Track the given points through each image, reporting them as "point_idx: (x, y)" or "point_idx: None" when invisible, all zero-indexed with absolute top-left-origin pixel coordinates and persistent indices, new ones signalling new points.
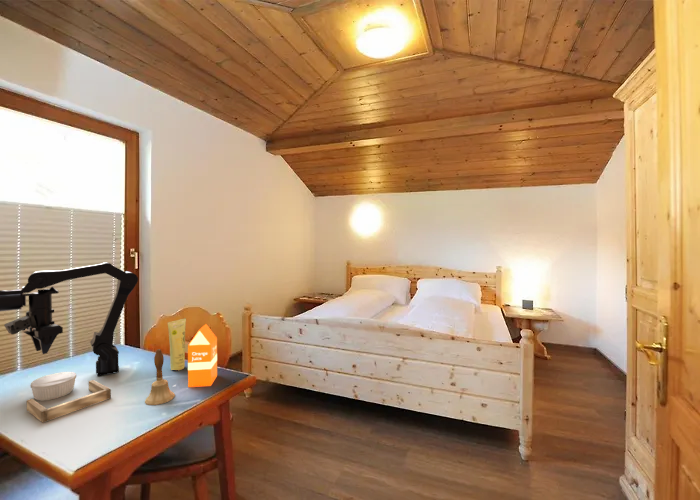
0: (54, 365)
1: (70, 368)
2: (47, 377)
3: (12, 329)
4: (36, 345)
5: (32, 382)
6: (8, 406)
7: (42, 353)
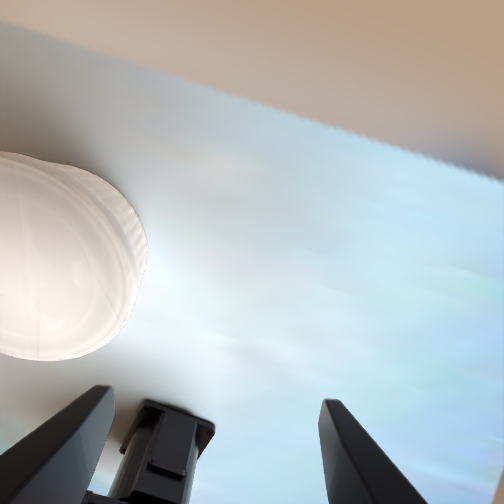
0: (497, 380)
1: (373, 393)
2: (76, 261)
3: None
4: (348, 477)
5: (42, 177)
6: (77, 58)
7: (102, 387)
